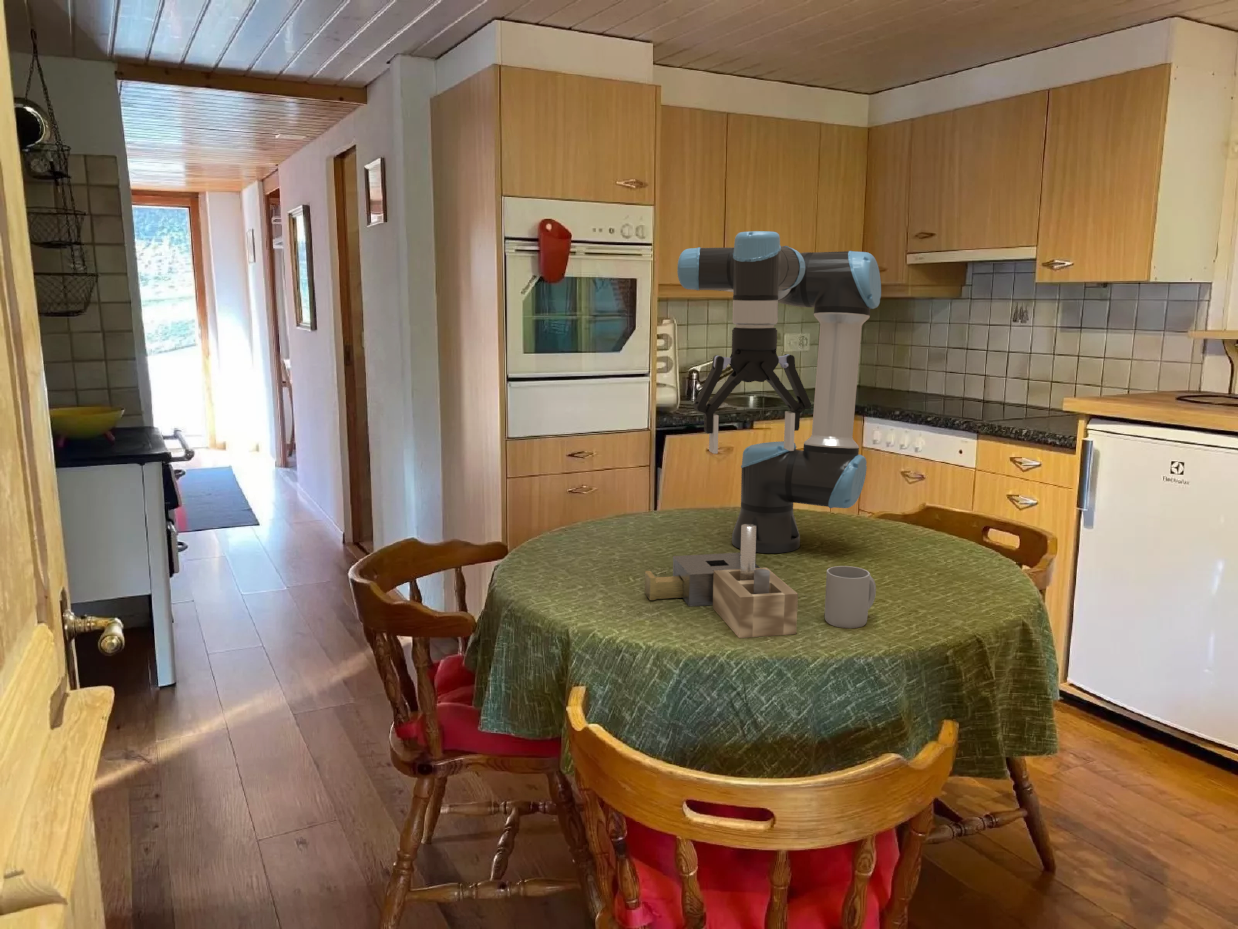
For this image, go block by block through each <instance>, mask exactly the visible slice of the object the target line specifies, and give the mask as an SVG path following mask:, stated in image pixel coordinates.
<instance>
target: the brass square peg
mask: <svg viewBox="0 0 1238 929" xmlns="http://www.w3.org/2000/svg"><path fill="white" fill-rule="evenodd" d="M644 594H645V595H646V597H647V598H648V599H649V601H655V600H662V599H663V600H664V599H678V598H683V579H682V578H681V576H673V575H671V576H655V575H654V573H653V572H652V571H651V570H645V571H644Z"/></svg>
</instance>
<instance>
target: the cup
mask: <svg viewBox="0 0 1238 929" xmlns="http://www.w3.org/2000/svg"><path fill="white" fill-rule="evenodd" d="M825 574H826V576H825V577H826V579H825V580H826V581H825V599H824V620H825V621H826V623H827V624H829V625H831V626H833V627H836V628H837V627H838V628H841V629H859V628H862V627H864V626H865V625H866V624H867V622H868V616H869V615H868V614H869V613H868V612H869V610H870V609H871V607H872V606H873V604H874V602H875V598H876V594H877V586H876V582H875V579H874V578H873V577H872V576H871V573H870V571H868V570H867V569H864V568H861V567H858V566H850V565H838V566H837V565H836V566H832V567H829V568H827V569H826V573H825Z"/></svg>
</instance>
